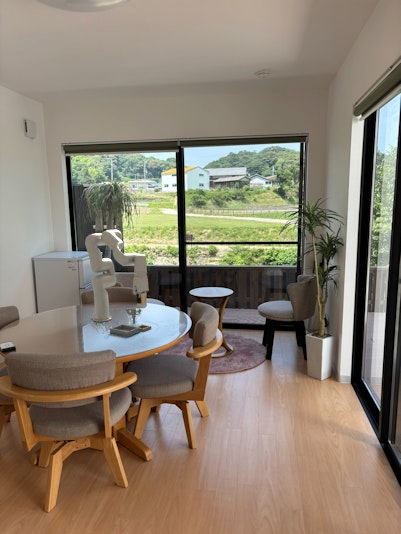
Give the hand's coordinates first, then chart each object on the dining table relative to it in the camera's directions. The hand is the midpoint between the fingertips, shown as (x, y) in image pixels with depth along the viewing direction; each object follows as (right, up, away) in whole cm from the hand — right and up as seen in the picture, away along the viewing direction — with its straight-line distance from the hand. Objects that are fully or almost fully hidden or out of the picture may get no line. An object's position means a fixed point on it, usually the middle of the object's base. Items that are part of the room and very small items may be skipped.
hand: (141, 302), depth 255 cm
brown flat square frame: (+1, -18, +2) cm, 18 cm away
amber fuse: (0, -2, 0) cm, 2 cm away
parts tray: (-10, -19, -4) cm, 21 cm away
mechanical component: (-7, -16, +16) cm, 24 cm away
